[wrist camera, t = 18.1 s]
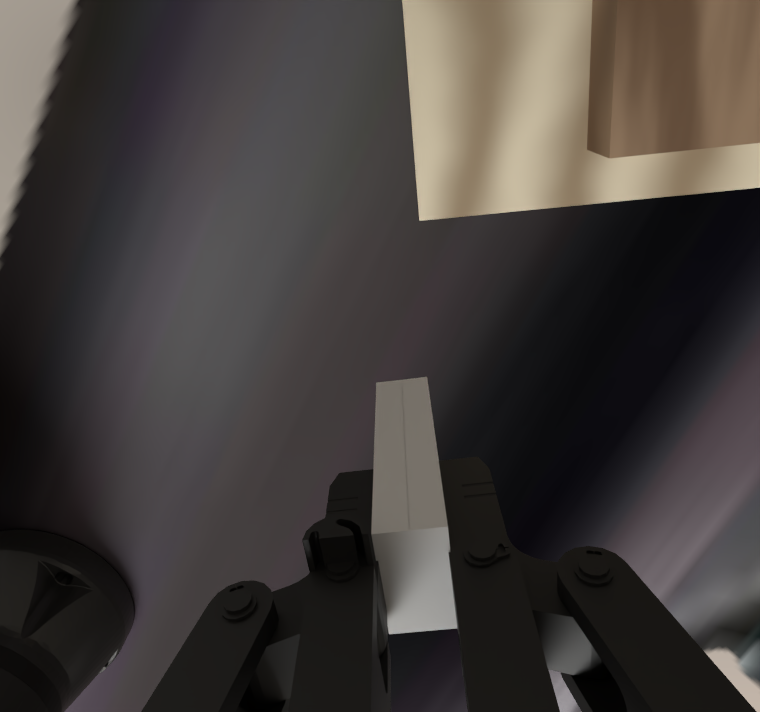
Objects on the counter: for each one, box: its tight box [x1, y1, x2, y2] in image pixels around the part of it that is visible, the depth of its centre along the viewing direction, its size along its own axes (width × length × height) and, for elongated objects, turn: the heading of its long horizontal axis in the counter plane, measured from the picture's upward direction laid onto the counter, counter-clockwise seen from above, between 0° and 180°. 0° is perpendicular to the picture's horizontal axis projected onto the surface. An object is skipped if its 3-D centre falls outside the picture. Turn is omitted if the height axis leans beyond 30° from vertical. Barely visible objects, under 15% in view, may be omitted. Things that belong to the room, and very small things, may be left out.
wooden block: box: [587, 0, 760, 159], centre depth 29 cm, size 4×10×8 cm
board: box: [402, 0, 760, 221], centre depth 32 cm, size 20×16×1 cm
